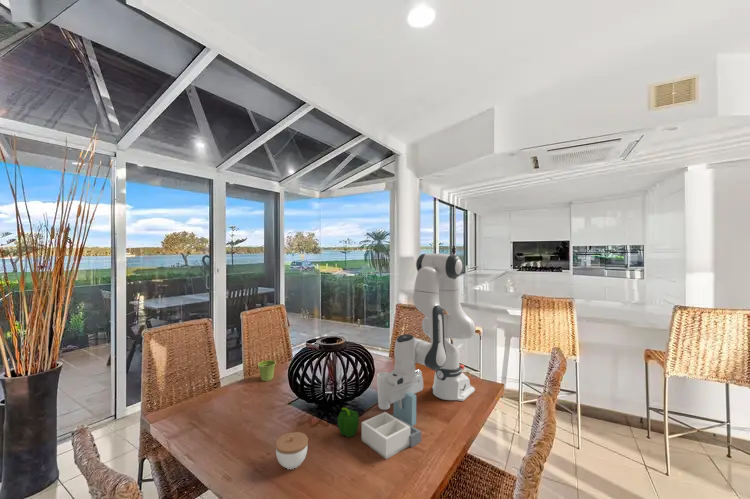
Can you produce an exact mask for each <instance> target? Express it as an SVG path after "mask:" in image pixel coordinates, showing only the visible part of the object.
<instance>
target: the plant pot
mask: <svg viewBox="0 0 750 499" xmlns="http://www.w3.org/2000/svg"><path fill="white" fill-rule="evenodd" d="M276 364H277V362H276V361H275V360H270V359H269V360H262V361H259V362H258V363H257V367H258V369H259V373H260V380H261V381H263V382H264V381H266V382H270V381H272V379H273V378H274V373H275V372H274V371H275V366H276Z"/></svg>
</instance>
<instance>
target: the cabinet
mask: <svg viewBox="0 0 750 499" xmlns="http://www.w3.org/2000/svg"><path fill="white" fill-rule="evenodd" d="M361 441H362V442H363V443H364V444H366V445H367V446H368V447H369V448H370V449H372V450H373V451H375V452H376V453H378V455H380V456H381V457H382V458H383V459H385V460H388V459H390V458H391V457H393V456H395V455H396V454H398V453H400V452H401V451H403V450H406V449H407V448H409V447H410V448H413V447H415V446H416V445H418V444H420V443H422V431H421V430H420V429H418V428H417V427H415V426H414V425H413V426H411V425H410V424H408V423H406V422H405V421H403V420H401V419H400V418H398V417H396V416H395V415H393V413H392V414H390V413H388V412H386V411H384V412H381V413H379V414H377V415H375V416H373V417H371V418H368V419H365V420H364V421H361Z"/></svg>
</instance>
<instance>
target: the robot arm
mask: <svg viewBox="0 0 750 499" xmlns="http://www.w3.org/2000/svg"><path fill="white" fill-rule="evenodd" d="M415 266H416V270H417V274H416V277H415V282H414V287H413V294H412V302H413V305H414V307H416V309H417V310H418V311H419V312H420V313H422V314H423V315H424V317H423V318H422V322H421V328H422V331H423V333H424V334H425V335H426V336H427V337H429V338H430V342H428V341H426V340H423V339H421V338H417V337H414V335H412V334H409V333H408V334H407V333H406V334H401V335H398V336H397V337H396V340H395V341H394V342H395V343H394V353H393V354H394V362H395V363H394V368H393V369H392V370H391V371H390V372H388V373H389V374H388V375H386V377H385V381H387V382H386V384H385V389H384V398H385V400H386V401H387V402H389V403H390V405H392V404H393V403H394V402H396V401H397V402H398V404H399V408H400V409H402V408H404V404H403V403H402V402H401V401H402V399H403V398H405V397H406V394H407V393H409V392H411V393H413V394H415V395H416V394H417V393H419V392H422V391H423V390H424V378H423V372H422V370H421V369H419V368H417V369H416V364H417V363H418V364H420V365H422V366H425V367H426V368H428V369H430V370H432V371H435V372H434V377H433V385H432V387H431V388H432V394H433V395H434V396H435V397H437V398H439V399H441V400H445V401H461V402H462V401H463V402H464V401H465V400H466V399H467V398H468V397H470V395H472V394H473V393H474V392H475V391H476V388H475V387H474V386H473V385H471V382H470V381H471V380H470V378H469V377H468V376H467V375H466V374H464V373H463V372H462V370H464V369H465V368H466V366H465V365H463V364H460V351H459V349H458V347H457V346H455V345H454V344H453V343H451V342H450V341H449V340H448V339H454V340H455V339H456V340H469V339H470V340H471V338H473V337H474V335H475V333H476V324H475V322H474V320H473V319H472V318H471V317H469V315H467V314H466V312H465V311H464V310H463V307H462V304H461V297H460V294H461V293H460V277H459V276H460V275H461V274H462V272H463V269H464V268H463V267H464V264H463V260H462V259H461V256H458V255H456V254H447V253H441V252H440V253H428V252H426V253H421V254H420V255H419V256H418V258H417V260H416V263H415ZM444 311H446V313H448V314H444Z"/></svg>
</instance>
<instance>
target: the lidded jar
mask: <svg viewBox="0 0 750 499" xmlns="http://www.w3.org/2000/svg"><path fill="white" fill-rule="evenodd" d="M308 444H309V438H308V436H307V435H306V434H305V433H303V432H300V431H294V432H287V433H285V434H283V435H281V436H280V437H278V438H277V439H276V441H275V444H274V445H275V455H276V459H277V462H278V464H279V465H281V466H282V467H283V468H284V467H285V468H287V469H286V470H289V469H290V470H295V469H297V468H299V467H300V466H301V464H302V463H303V462H304V460H305V459H306V457H307V453H308ZM298 466H299V467H298ZM285 468H284V469H285ZM294 468H295V469H294Z"/></svg>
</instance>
